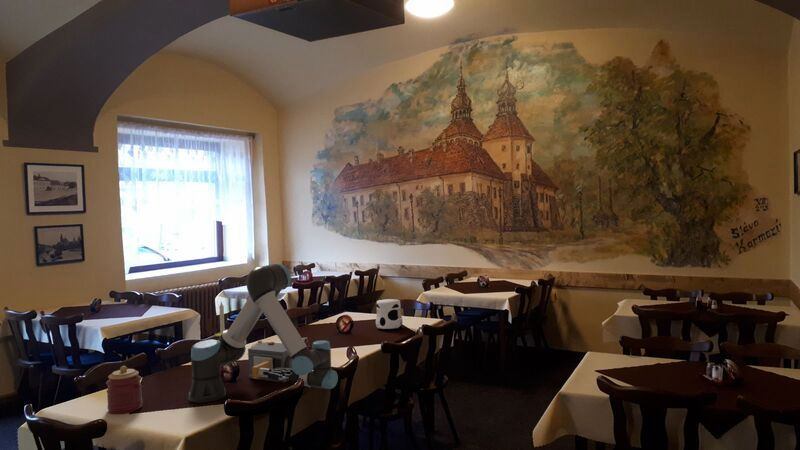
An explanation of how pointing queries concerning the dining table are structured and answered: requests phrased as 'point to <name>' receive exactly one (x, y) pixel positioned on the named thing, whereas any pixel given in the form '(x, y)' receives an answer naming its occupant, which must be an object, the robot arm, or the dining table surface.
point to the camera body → (272, 351)
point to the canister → (124, 391)
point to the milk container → (388, 314)
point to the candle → (221, 320)
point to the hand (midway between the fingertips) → (259, 371)
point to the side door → (261, 365)
